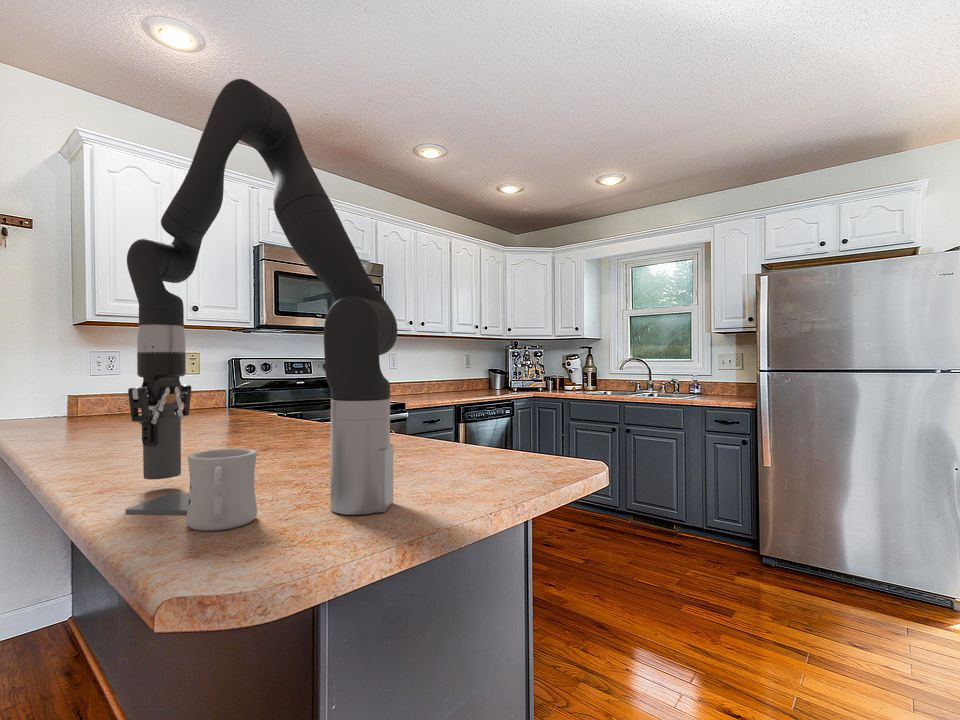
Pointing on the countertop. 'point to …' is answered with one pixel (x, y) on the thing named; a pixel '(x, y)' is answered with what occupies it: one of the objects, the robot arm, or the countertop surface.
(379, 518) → the countertop surface
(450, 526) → the countertop surface
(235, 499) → the mug
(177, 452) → the bottle
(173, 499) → the coaster
